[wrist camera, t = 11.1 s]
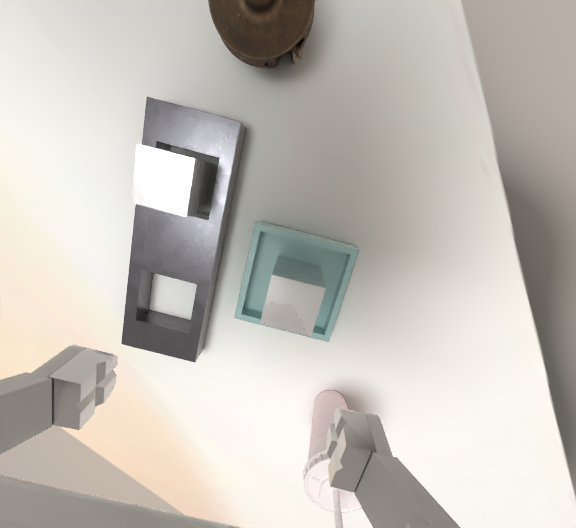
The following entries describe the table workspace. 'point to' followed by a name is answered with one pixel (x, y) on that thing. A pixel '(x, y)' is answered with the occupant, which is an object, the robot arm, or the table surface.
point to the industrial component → (263, 28)
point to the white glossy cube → (172, 181)
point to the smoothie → (325, 460)
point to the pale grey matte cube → (294, 296)
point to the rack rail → (181, 233)
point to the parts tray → (301, 247)
